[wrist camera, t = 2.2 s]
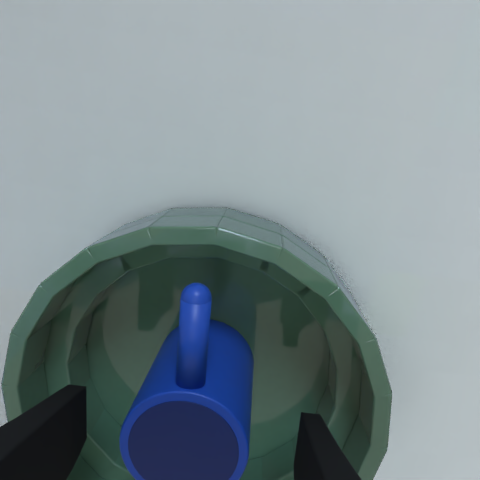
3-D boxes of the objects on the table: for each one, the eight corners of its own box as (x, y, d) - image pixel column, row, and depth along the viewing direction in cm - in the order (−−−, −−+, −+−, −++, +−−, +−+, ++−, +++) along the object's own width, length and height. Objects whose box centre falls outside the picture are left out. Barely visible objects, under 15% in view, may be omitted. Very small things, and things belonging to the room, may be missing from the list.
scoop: (249, 408, 18) (242, 511, 13) (157, 397, 18) (117, 495, 13) (266, 250, 16) (266, 299, 11) (164, 239, 16) (120, 283, 11)
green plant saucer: (244, 527, 20) (238, 621, 16) (9, 381, 19) (-59, 444, 15) (429, 327, 17) (478, 385, 13) (162, 137, 16) (127, 137, 12)
